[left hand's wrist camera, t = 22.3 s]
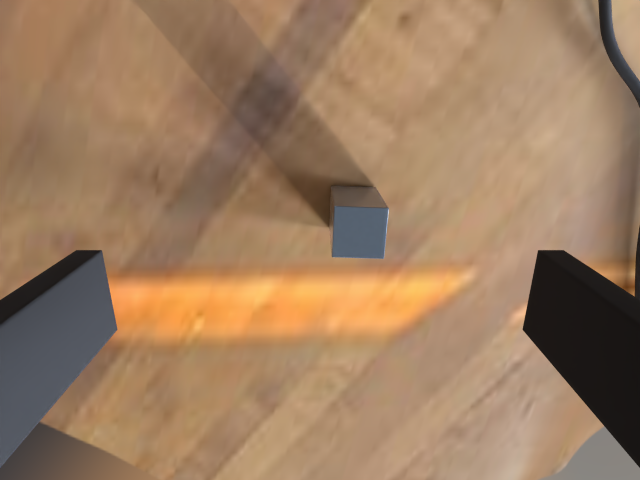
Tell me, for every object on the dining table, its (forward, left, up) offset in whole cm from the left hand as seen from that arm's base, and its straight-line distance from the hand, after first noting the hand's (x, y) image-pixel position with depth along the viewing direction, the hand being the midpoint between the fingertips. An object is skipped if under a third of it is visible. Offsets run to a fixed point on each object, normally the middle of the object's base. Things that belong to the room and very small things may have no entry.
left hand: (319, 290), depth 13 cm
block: (-7, 0, -31) cm, 32 cm away
